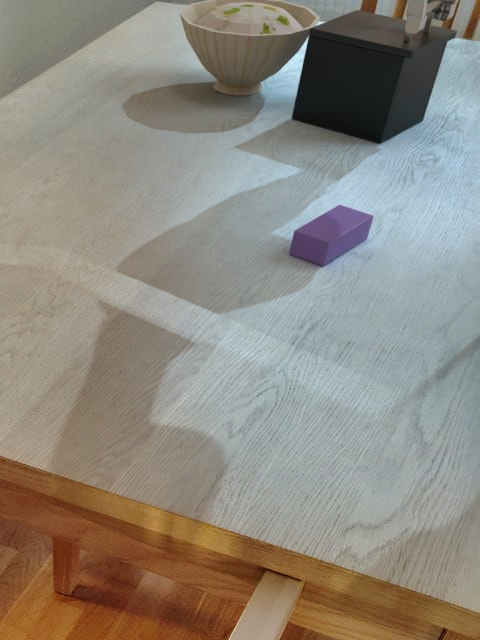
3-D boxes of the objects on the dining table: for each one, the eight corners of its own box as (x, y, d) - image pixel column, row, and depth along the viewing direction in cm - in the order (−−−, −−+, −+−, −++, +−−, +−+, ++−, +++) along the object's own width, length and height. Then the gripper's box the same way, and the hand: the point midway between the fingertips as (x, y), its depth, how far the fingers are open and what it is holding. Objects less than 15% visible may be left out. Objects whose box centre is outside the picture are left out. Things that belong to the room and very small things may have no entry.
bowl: (172, 64, 138) (181, -14, 131) (300, 68, 136) (317, -11, 129) (169, 107, 126) (179, 23, 118) (310, 113, 124) (329, 28, 116)
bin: (423, 120, 121) (449, 37, 114) (380, 143, 116) (404, 57, 109) (335, 97, 128) (354, 17, 120) (291, 118, 122) (308, 35, 115)
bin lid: (455, 38, 113) (469, -8, 110) (410, 58, 108) (424, 11, 105) (355, 16, 120) (365, -27, 117) (308, 35, 115) (318, -10, 111)
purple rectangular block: (333, 227, 100) (339, 204, 98) (367, 238, 98) (374, 215, 96) (288, 254, 96) (293, 230, 94) (323, 266, 94) (329, 242, 92)
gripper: (453, -104, 93) (410, 49, 104) (537, -130, 103) (490, 13, 113) (398, -111, 96) (361, 39, 107) (484, -136, 106) (443, 4, 116)
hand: (428, 25), depth 110 cm, fingers closed on bin lid, 6 cm apart
